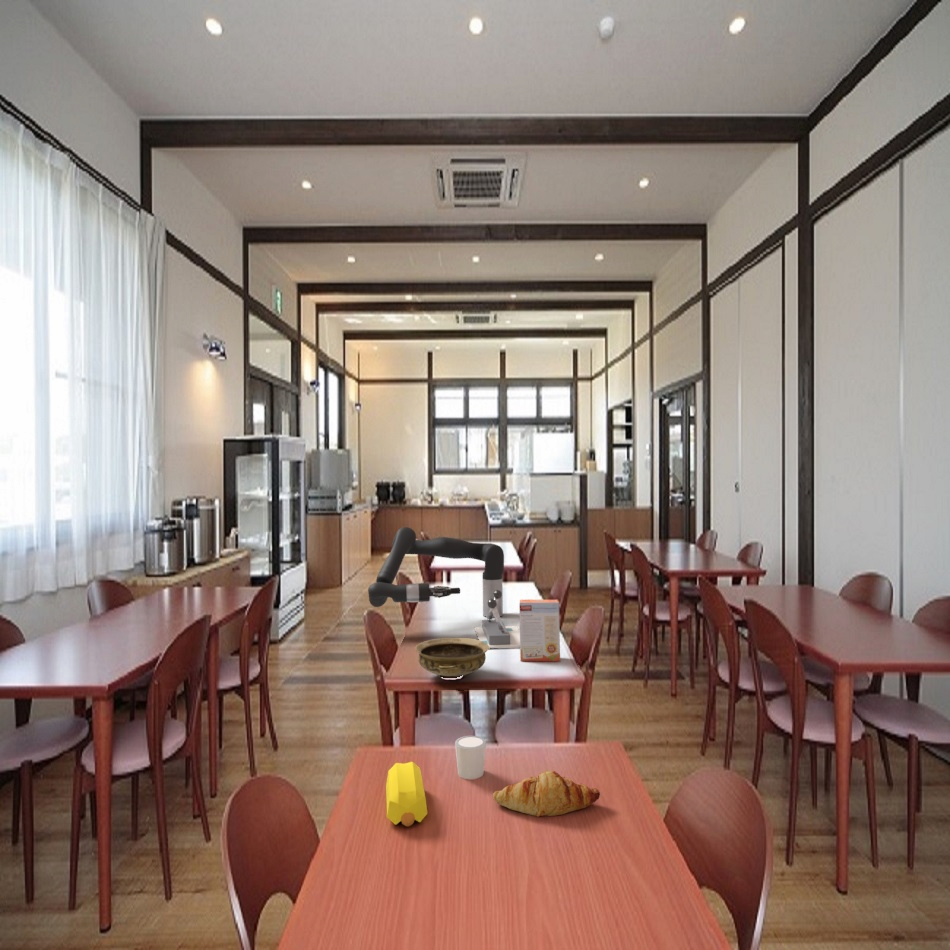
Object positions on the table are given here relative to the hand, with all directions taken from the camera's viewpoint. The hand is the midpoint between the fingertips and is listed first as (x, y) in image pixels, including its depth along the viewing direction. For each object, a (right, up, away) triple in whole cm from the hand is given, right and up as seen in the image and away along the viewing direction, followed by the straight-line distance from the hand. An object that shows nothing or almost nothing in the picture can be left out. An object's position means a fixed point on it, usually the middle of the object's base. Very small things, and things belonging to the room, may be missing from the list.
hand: (460, 590), depth 259 cm
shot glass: (+5, -18, -120) cm, 122 cm away
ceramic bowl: (-1, -18, -54) cm, 57 cm away
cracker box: (+29, -18, -36) cm, 50 cm away
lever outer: (+17, -12, -16) cm, 26 cm away
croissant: (+20, -18, -134) cm, 136 cm away
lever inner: (+12, -12, +1) cm, 17 cm away
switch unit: (+16, -18, -7) cm, 25 cm away
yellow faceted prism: (-8, -19, -133) cm, 135 cm away
